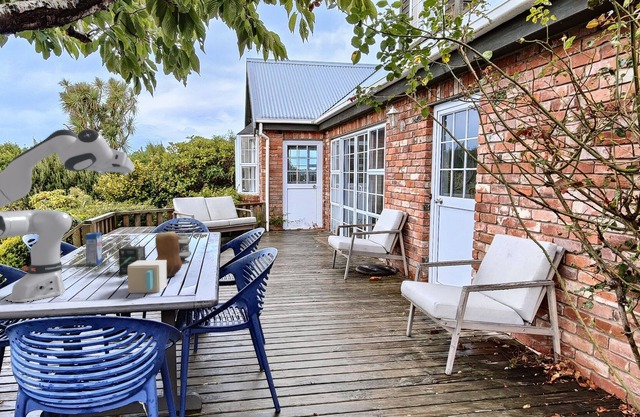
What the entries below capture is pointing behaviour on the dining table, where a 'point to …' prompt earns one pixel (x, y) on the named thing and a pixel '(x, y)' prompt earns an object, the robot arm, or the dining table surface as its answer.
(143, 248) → the tampon box
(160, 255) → the butternut squash
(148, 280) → the flap
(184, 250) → the apothecary jar
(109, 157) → the robot arm
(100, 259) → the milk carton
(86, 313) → the dining table surface
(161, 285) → the carton
